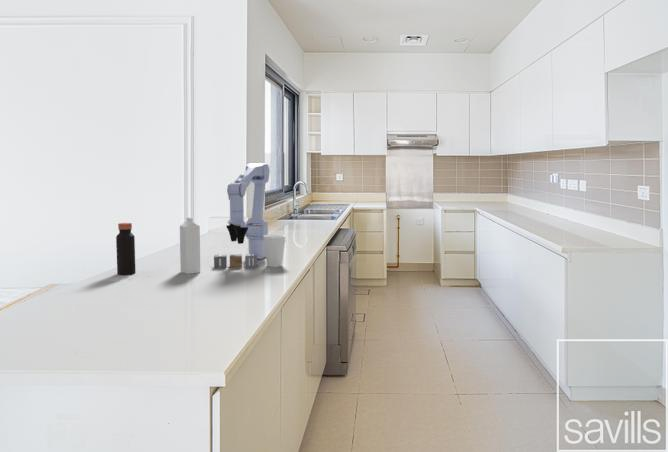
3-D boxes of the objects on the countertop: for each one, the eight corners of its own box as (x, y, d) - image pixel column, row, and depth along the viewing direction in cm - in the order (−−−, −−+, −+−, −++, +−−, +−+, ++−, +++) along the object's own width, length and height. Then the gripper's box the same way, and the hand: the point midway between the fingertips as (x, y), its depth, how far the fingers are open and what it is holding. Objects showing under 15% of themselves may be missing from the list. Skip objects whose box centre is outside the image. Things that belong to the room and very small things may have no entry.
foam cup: (287, 264, 248) (287, 234, 247) (283, 267, 239) (283, 237, 238) (266, 263, 249) (265, 234, 248) (261, 267, 240) (261, 237, 239)
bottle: (129, 275, 219) (128, 224, 217) (113, 274, 221) (112, 224, 219) (138, 272, 226) (137, 222, 224) (123, 271, 227) (122, 222, 225)
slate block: (245, 265, 244) (245, 254, 244) (257, 265, 245) (257, 253, 244) (245, 267, 239) (245, 256, 239) (257, 267, 240) (257, 255, 239)
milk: (186, 274, 223) (184, 218, 221) (180, 272, 228) (179, 217, 226) (200, 272, 227) (199, 218, 225) (194, 270, 232) (193, 216, 229)
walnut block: (230, 266, 243) (230, 254, 243) (241, 265, 244) (241, 254, 243) (229, 268, 238) (229, 256, 238) (241, 267, 239) (241, 256, 238)
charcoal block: (214, 266, 242) (214, 254, 242) (226, 266, 243) (226, 254, 242) (214, 268, 237) (213, 256, 237) (226, 268, 238) (226, 256, 237)
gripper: (221, 209, 245) (222, 240, 247) (234, 212, 233) (234, 245, 235) (237, 209, 249) (237, 239, 250) (250, 211, 237) (250, 244, 238)
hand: (237, 242), depth 243 cm, fingers open, 7 cm apart
